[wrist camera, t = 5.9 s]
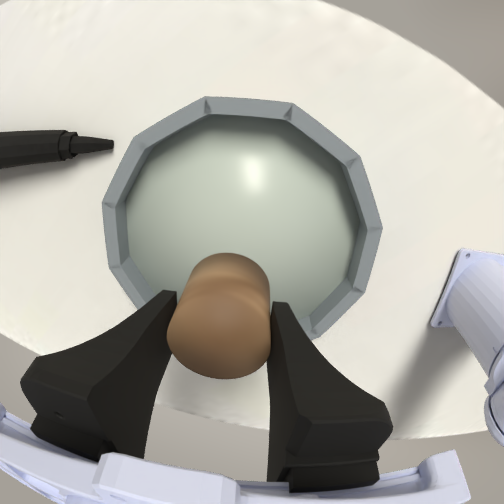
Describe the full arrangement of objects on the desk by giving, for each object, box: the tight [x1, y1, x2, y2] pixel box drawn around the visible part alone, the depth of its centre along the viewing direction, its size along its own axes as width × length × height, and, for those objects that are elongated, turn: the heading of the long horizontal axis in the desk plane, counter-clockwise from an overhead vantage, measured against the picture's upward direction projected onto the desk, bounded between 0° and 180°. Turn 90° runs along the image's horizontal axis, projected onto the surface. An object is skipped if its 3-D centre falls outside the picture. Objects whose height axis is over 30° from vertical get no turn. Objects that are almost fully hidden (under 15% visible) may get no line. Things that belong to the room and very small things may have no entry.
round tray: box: [102, 96, 383, 340], centre depth 20 cm, size 18×18×2 cm
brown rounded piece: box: [167, 253, 271, 379], centre depth 13 cm, size 4×4×4 cm
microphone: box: [0, 130, 114, 169], centre depth 17 cm, size 6×6×20 cm
